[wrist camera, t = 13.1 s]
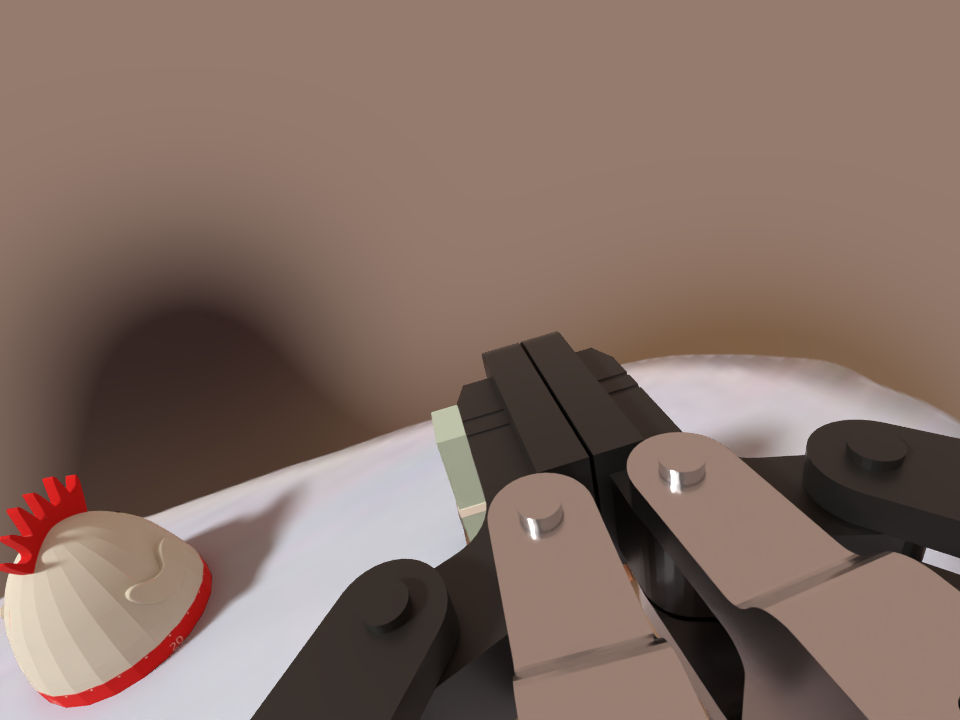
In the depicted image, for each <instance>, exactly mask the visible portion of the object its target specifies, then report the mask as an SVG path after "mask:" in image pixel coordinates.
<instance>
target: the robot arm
mask: <svg viewBox="0 0 960 720" xmlns="http://www.w3.org/2000/svg"><path fill="white" fill-rule="evenodd" d="M482 359H483V363H484V368H485V372H486V376H487V379H484V380H481V381H478V382H474V383H471V384H468V385H464V386H463V388H462V391H461V394H460V397H459V399H458V402H457V406H458V409H459V413H460V416H461V420H462V423H463V427H464V430H465V434H466V437H467V440H468V444H469V447H470V451H471V454H472V458H473V461H474V465H475V468H476V471H477V475H478V478H479V481H480V485H481V488H482V491H483V495H484V498H485V501H486V514H485V519H484V521H483V524H482V526H481V528H480V530H479V532H478V533H477V535H476V536H475V537H474V538H473V540H472V541H471V542H470V543H469V544H468V545H467V546H466V547H465V548H464V549H462V550H461V551H460V552H458V553H457V554H456V555H454V556H453V557H451V558H449V559H448V560H446V561H445V562H443V563H442V564H440V565H439V566H437V567H436V568H433V567H431V566H430V565H428V564H426V563H424V562H421V561H418V560H413V559H398V560H392V561H388V562H384V563H382V564H379V565H377V566H375V567H373V568H371V569H369V570H368V571H366V572H364V573H363V574H362V575H360V576H359V577H358V578H357V579H355V580H354V581H353V582H352V583H351V584H350V585H349V586H348V587H347V589H346V590H345V591H344V592H343V593H342V595H341V596H340V598H339V599H338V600H337V602H336V603H335V604H334V606H333V607H332V609H331V610H330V611H329V613H328V614H327V615H326V617H325V618H324V619H323V621H322V622H321V624H320V625H319V626H318V628H317V629H316V630H315V632H314V633H313V635H312V636H311V637H310V639H309V640H308V641H307V643H306V644H305V646H304V647H303V648H302V650H301V651H300V652H299V654H298V655H297V656H296V658H295V659H294V661H293V662H292V663H291V665H290V666H289V667H288V669H287V670H286V672H285V673H284V674H283V676H282V677H281V678H280V680H279V681H278V682H277V684H276V685H275V687H274V688H273V689H272V691H271V692H270V693H269V695H268V696H267V698H266V699H265V700H264V702H263V703H262V704H261V706H260V707H259V709H258V710H257V711H256V713H255V714H254V715H253V717H252V718H251V719H250V720H516V719H517V718H518V720H708V719H707V717H706V715H705V712H704V710H703V708H702V706H701V704H700V702H699V700H700V701H701V703H702V704H703V706H704V707H705V709H706V711H707V712H708V714H709V715H710V717H711V719H712V720H960V575H959V574H956V573H953V572H950V571H947V570H944V569H941V568H938V567H935V566H932V565H929V564H926V563H923V562H922V560H923V557H924V554H925V550H926V547H927V548H930V549H933V550H936V551H939V552H942V553H945V554H949V555H952V556H955V557H958V558H960V439H958V438H953V437H949V436H944V435H939V434H935V433H930V432H925V431H921V430H916V429H911V428H906V427H902V426H897V425H892V424H888V423H883V422H877V421H870V420H843V421H837V422H832V423H829V424H826V425H824V426H822V427H820V428H818V429H816V430H815V431H814V432H813V433H812V434H811V435H810V437H809V439H808V441H807V445H806V453H805V455H799V456H782V457H765V458H740V457H737V456H736V455H735V454H734V453H733V452H731V451H730V450H729V449H728V448H727V447H725V446H724V445H722V444H721V443H719V442H717V441H715V440H714V439H711V438H708V437H706V436H702V435H698V434H693V433H685V432H682V431H681V430H680V429H679V428H678V427H677V426H676V425H675V424H674V422H673V421H672V420H671V419H670V418H669V417H668V416H667V415H666V414H665V413H664V412H663V411H662V409H661V408H660V407H659V406H658V405H657V404H656V403H655V402H654V401H653V400H652V399H651V398H650V397H649V395H648V394H647V393H646V392H645V391H644V390H643V389H642V388H641V387H640V388H639V386H638V384H637V383H636V381H635V380H634V379H633V378H632V377H631V376H630V375H627V372H626V371H625V370H624V368H623V367H622V366H621V365H620V364H619V363H618V362H617V361H616V360H615V359H614V358H613V357H611V356H609V355H607V354H604V353H602V352H599V351H597V350H595V349H593V348H589V349H586V350H582V351H579V352H574V351H573V349H572V348H571V347H570V346H569V344H568V343H567V342H566V341H565V339H564V338H563V337H562V336H561V334H560V333H559V332H554V333H550V334H546V335H543V336H540V337H536V338H533V339H529V340H526V341H522V342H521V343H520V344H519V343H516V344H512V345H509V346H506V347H502V348H499V349H495V350H492V351H488V352H485V353H482ZM627 563H628V565H629V566H630V568H631V570H632V572H633V574H634V575H635V577H636V579H637V581H638V588H639V598H640V603H641V605H640V603H639V601H638V598H637V596H636V594H635V592H634V589H633V587H632V585H631V583H630V580H629V578H628V576H627V574H626V571H625V569H624V567H623V565H624V564H627ZM641 606H642V607H641ZM642 609H643V610H642ZM643 611H644V612H645V614H646V616H647V618H648V619H649V621H650V622H651V624H652V625H653V627H654V629H655V630H656V632H657V633H658V635H659V637H660V638H657V637H656V635H655V634H654V632H653V631H652V629H651V627H650V625H649V623H648V621H647V619H646V616H645V614H644V612H643ZM697 696H698V698H699V700H698V698H697Z"/></svg>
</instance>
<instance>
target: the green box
mask: <svg viewBox="0 0 960 720" xmlns="http://www.w3.org/2000/svg"><path fill="white" fill-rule="evenodd" d="M431 414H432V420H433V426H434V431H435V437H436V442H437V446H438V449H439V452H440V455H441V458H442V461H443V464H444V467H445V469H446V472H447V475H448V478H449V481H450V484H451V487H452V490H453V493H454V496H455V499H456V502H457V506H458V511H459V514H460V517H461V518H462V520H463V523H464V526H465V528H466V531H467V534H468V537H469V540H470V542H471V541H472V540H473V538H474V537H475V536H476V535H477V533H478V532H479V530H480V528H481V526H482V524H483V521H484V519H485V514H486V501H485V498H484V495H483V491H482V488H481V485H480V481H479V478H478V475H477V471H476V468H475V465H474V461H473V458H472V454H471V451H470V447H469V444H468V440H467V437H466V434H465V430H464V427H463V423H462V420H461V416H460V413H459V409H458V406H457V405H455V406H452V407H448V408H445V409H442V410H438V411H435V412H432V413H431Z"/></svg>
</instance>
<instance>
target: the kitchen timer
mask: <svg viewBox="0 0 960 720" xmlns="http://www.w3.org/2000/svg"><path fill="white" fill-rule="evenodd" d="M43 483H44V486H45V489H46V491H47V493H48V496H49V498H50V501H51V503H50V502H48V501H47V500H46V499H44V498H43V497H41V496H40V495H38V494H36V493H29V494H23V498H24V499H25V501H26V502H27V504H28V505H29V507H30V509H31V510H32V512H33V514H34V515H35V516H33V515H32V514H30V513H28V512H27V511H25V510H24V509H22V508H20V507H16V508H11V509H7V513H8V515H9V516H10V518H11V519H12V521H13V522H14V524H15V525H16V527H17V528H18V530H19V531H20V533H21V535H22V536H17V535H8V536H2V537H0V541H1V542H2V543H4V544H6V545H8V546H9V547H11V548H13V549H15V550H16V551H18V552H19V554H18V556H17V558H16V560H15V562H14V563H4V564H0V571H3V572H7V573H9V576H8V579H7V584H6V590H5V601H4V605H3V606H2V608H1V609H0V616H1V617H2V618H3V619H4V623H5V629H6V633H7V636H8V639H9V642H10V645H11V647H12V650H13V653H14V655H15V658H16V660H17V662H18V665H19V667H20V668H21V670H22V671H23V673H24V674H25V676H26V677H27V679H28V680H29V682H30V683H31V685H32V686H33V687H34V688H35V690H36V691H37V692H38V693H39V694H41V695H42V696H43V697H44V698H45V699H47V700H48V701H49V702H50V703H53V704H57V705H60V706H63V707H66V708H68V707H77V706H86V705H91V704H93V703H96V702H99V701H101V700H104V699H106V698H109V697H112V696H114V695H116V694H118V693H120V692H121V691H123V690H125V689H126V688H128V687H130V686H131V685H133V684H135V683H136V682H138V681H139V680H141V679H143V678H144V677H145V676H147V675H148V674H149V673H150V672H151V671H153V670H154V669H155V668H156V667H157V666H159V665H160V664H161V663H162V662H163V661H165V660H166V659H167V658H168V657H169V656H170V655H171V654H172V653H173V652H174V651H175V650H176V648H177V647H178V646H179V645H180V644H181V643H182V642H183V641H184V640H185V638H186V637H187V636H188V635H189V634H190V632H191V631H192V629H193V628H194V626H195V625H196V623H197V621H198V620H199V618H200V617H201V615H202V614H203V612H204V610H205V607H206V604H207V602H208V599H209V596H210V594H211V584H212V575H211V573H210V571H209V568H208V566H207V564H206V563H205V561H204V560H203V559H202V557H201V556H200V554H199V553H198V552H197V551H196V550H195V549H194V548H193V547H192V546H190V545H189V544H188V543H186V542H185V541H183V540H182V539H180V538H179V537H177V536H176V535H174V534H172V533H171V532H169V531H167V530H166V529H164V528H162V527H160V526H159V525H157V524H155V523H153V522H151V521H149V520H147V519H144V518H141V517H138V516H134V515H130V514H127V513H121V512H108V511H90V512H87V508H86V504H85V499H84V495H83V491H82V487H81V484H80V481H79V478H78V476H77V475H71V476H66V488H65V487H64V486H63V485H62V484H61V482H59V480H58V479H57V478H55V477H48V478H43Z"/></svg>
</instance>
